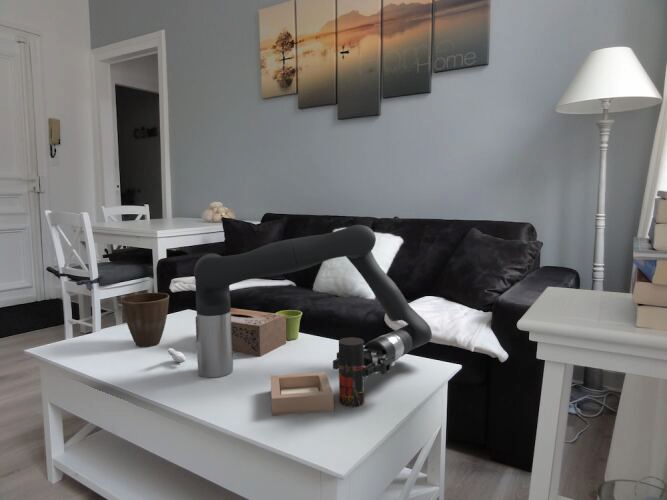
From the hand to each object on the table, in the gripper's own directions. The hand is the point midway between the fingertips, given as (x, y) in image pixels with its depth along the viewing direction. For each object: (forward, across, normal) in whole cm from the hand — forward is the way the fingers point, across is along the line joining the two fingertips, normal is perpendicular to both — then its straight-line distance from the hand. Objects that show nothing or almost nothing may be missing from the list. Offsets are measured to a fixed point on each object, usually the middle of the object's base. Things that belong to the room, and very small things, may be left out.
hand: (348, 369), depth 115 cm
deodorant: (-1, 0, +9) cm, 9 cm away
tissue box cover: (-17, -55, +9) cm, 58 cm away
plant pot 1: (+1, -81, +9) cm, 82 cm away
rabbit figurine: (+7, -56, +9) cm, 58 cm away
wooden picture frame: (+5, -11, +8) cm, 15 cm away
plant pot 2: (-31, -47, +9) cm, 57 cm away
